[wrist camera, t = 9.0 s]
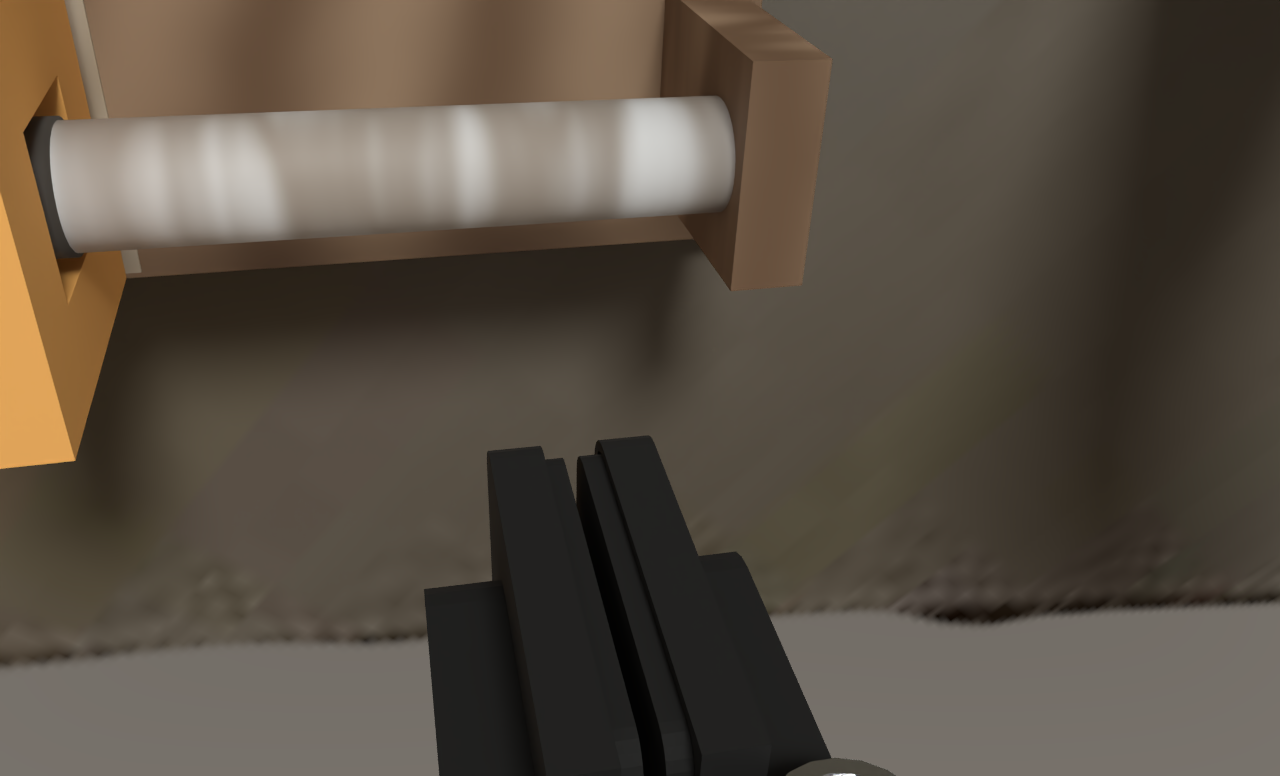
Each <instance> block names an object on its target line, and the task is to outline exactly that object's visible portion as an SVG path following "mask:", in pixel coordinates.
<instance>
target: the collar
mask: <svg viewBox="0 0 1280 776" xmlns="http://www.w3.org/2000/svg"><path fill="white" fill-rule="evenodd" d="M34 116H60V117H62V118H63V119H64V120H77V119H91V117H90V112H89V108H88V103H87V99H86V94H85V90H84V86H83V81H82V77H81V72H80V68H79V63H78V59H77V54H76V50H75V45H74V41H73V36H72V32H71V28H70V23H69V19H68V14H67V10H66V5H65V1H64V0H0V469H2V468H12V467H21V466H31V465H41V464H50V463H60V462H69V461H75V460H76V456H77V453H78V449H79V446H80V442H81V438H82V435H83V431H84V428H85V424H86V421H87V417H88V413H89V410H90V406H91V403H92V399H93V396H94V392H95V388H96V385H97V381H98V378H99V374H100V371H101V367H102V363H103V360H104V356H105V353H106V349H107V346H108V342H109V338H110V335H111V331H112V328H113V324H114V321H115V317H116V313H117V310H118V306H119V303H120V299H121V296H122V292H123V288H124V285H125V281H126V278H127V277H126V273H125V269H124V264H123V260H122V255H121V251H105V252H89V253H84V254H83V255H82V257H79V258H64V259H56V257H55V254H54V250H53V246H52V242H51V238H50V234H49V230H48V227H47V223H46V219H45V215H44V211H43V207H42V203H41V200H40V196H39V192H38V188H37V184H36V180H35V176H34V173H33V169H32V165H31V161H30V157H29V153H28V149H27V145H26V142H25V138H24V134H23V132H24V130H25V128H26V127H27V125H28V123H29V122H30V120H31V118H32V117H34Z"/></svg>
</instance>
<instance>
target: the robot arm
mask: <svg viewBox="0 0 1280 776" xmlns="http://www.w3.org/2000/svg"><path fill="white" fill-rule="evenodd" d="M487 473H488V495H489V517H490V539H491V561H492V581H489V582H481V583H472V584H464V585H456V586H448V587H439V588H431V589H424V594H425V607H426V619H427V631H428V643H429V654H430V667H431V679H432V690H433V703H434V715H435V727H436V739H437V752H438V764H439V775H440V776H896V775H894V774H893V773H891V772H890V771H888V770H886V769H883V768H880V767H877V766H875V765H872V764H869V763H867V762H864V761H860V760H850V759H841V758H831V756H830V754H829V751H828V749H827V747H826V745H825V743H824V740H823V738H822V736H821V733H820V731H819V729H818V727H817V724H816V722H815V720H814V717H813V715H812V713H811V710H810V708H809V706H808V704H807V701H806V699H805V697H804V695H803V692H802V690H801V688H800V685H799V683H798V681H797V679H796V676H795V674H794V672H793V670H792V667H791V665H790V663H789V660H788V658H787V656H786V654H785V651H784V649H783V647H782V645H781V642H780V640H779V638H778V636H777V633H776V631H775V629H774V626H773V624H772V622H771V620H770V617H769V615H768V613H767V611H766V608H765V606H764V604H763V601H762V599H761V597H760V595H759V592H758V590H757V588H756V586H755V583H754V581H753V579H752V576H751V574H750V572H749V570H748V567H747V566H746V564H745V562H744V560H743V558H742V557H741V556H740V555H739V554H738V553H737V552H729V553H721V554H713V555H705V556H698V554H697V551H696V549H695V546H694V543H693V541H692V538H691V536H690V533H689V531H688V528H687V526H686V523H685V520H684V518H683V515H682V513H681V510H680V508H679V505H678V503H677V500H676V497H675V495H674V492H673V490H672V487H671V485H670V482H669V480H668V477H667V474H666V472H665V469H664V467H663V464H662V462H661V459H660V457H659V454H658V451H657V449H656V446H655V444H654V442H653V440H652V438H651V437H650V436H638V437H628V438H618V439H607V440H598V441H597V442H596V446H595V455H587V456H579V457H578V460H577V497H576V502H575V498H574V495H573V491H572V487H571V484H570V480H569V476H568V473H567V469H566V465H565V462H564V459H563V458H557V459H547V460H545V457H544V453H543V450H542V448H541V446H535V447H525V448H515V449H504V450H494V451H488V452H487Z"/></svg>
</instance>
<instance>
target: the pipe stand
mask: <svg viewBox="0 0 1280 776" xmlns="http://www.w3.org/2000/svg"><path fill="white" fill-rule="evenodd" d="M64 1H65V5H66V10H67V14H68V19H69V23H70V28H71V32H72V36H73V41H74V45H75V50H76V54H77V59H78V63H79V68H80V72H81V77H82V81H83V86H84V90H85V94H86V99H87V103H88V108H89V112H90V117H91V119H77V120H64V119H63V118H62V117H60V116H34V117H32V118H31V120H30V122H29V123H28V125H27V127H26V128H25V130H24V132H23V134H24V138H25V142H26V145H27V149H28V153H29V157H30V161H31V165H32V169H33V173H34V176H35V180H36V184H37V188H38V192H39V196H40V200H41V203H42V207H43V211H44V215H45V219H46V223H47V227H48V230H49V234H50V238H51V242H52V246H53V250H54V254H55V257H56V259H64V258H79V257H82V255H83V254H84V253H89V252H105V251H121V255H122V260H123V264H124V269H125V273H126V277H127V278H139V277H154V276H168V275H183V274H197V273H211V272H226V271H240V270H255V269H269V268H283V267H298V266H312V265H327V264H341V263H355V262H370V261H384V260H399V259H413V258H428V257H442V256H456V255H471V254H485V253H500V252H514V251H528V250H543V249H557V248H572V247H586V246H600V245H615V244H629V243H644V242H658V241H672V240H687V239H694V240H695V241H696V243H697V244H698V245H699V247H700V248H701V250H702V251H703V253H704V254H705V255H706V257H707V258H708V260H709V261H710V262H711V264H712V265H713V267H714V268H715V270H716V271H717V272H718V274H719V275H720V277H721V278H722V279H723V281H724V282H725V284H726V285H727V287H728V288H729V289H730V291H738V290H750V289H762V288H775V287H787V286H799V285H802V280H803V273H804V266H805V258H806V251H807V244H808V236H809V229H810V221H811V214H812V207H813V199H814V192H815V185H816V177H817V170H818V163H819V155H820V148H821V141H822V133H823V126H824V118H825V111H826V104H827V96H828V89H829V82H830V74H831V67H832V60H833V59H832V58H830V57H829V56H827V55H826V54H825V53H823V52H822V51H820V50H819V49H818V48H816V47H815V46H813V45H812V44H811V43H809V42H808V41H806V40H805V39H804V38H802V37H801V36H799V35H798V34H797V33H795V32H794V31H792V30H791V29H790V28H788V27H787V26H785V25H784V24H783V23H781V22H780V21H778V20H777V19H776V18H774V17H773V16H771V15H770V14H769V13H767V12H766V11H764V10H763V9H762V0H64Z"/></svg>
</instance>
